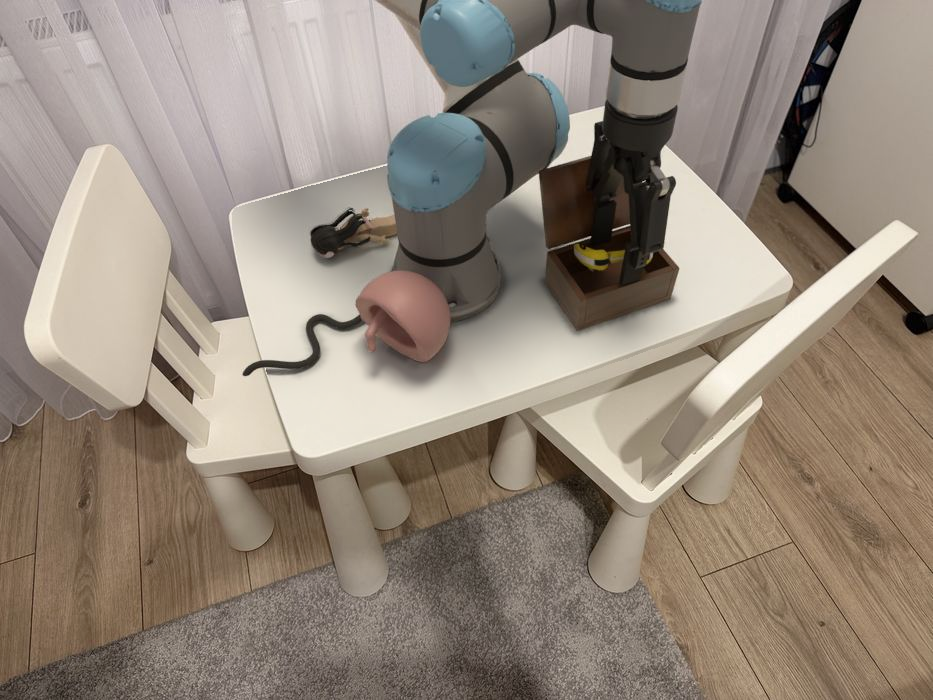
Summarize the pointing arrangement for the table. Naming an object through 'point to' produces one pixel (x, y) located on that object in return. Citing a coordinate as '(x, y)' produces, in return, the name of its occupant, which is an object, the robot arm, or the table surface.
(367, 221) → the toy figure
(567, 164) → the lid
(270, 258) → the table surface
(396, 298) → the mortar and pestle
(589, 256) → the yellow curved piece
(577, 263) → the chest
